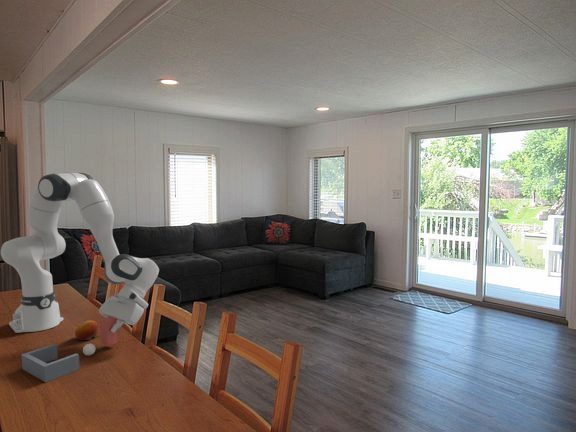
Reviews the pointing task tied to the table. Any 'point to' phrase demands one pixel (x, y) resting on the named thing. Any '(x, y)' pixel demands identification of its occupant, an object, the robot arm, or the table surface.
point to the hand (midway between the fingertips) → (107, 330)
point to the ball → (89, 349)
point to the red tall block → (106, 334)
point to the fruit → (86, 330)
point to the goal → (46, 372)
